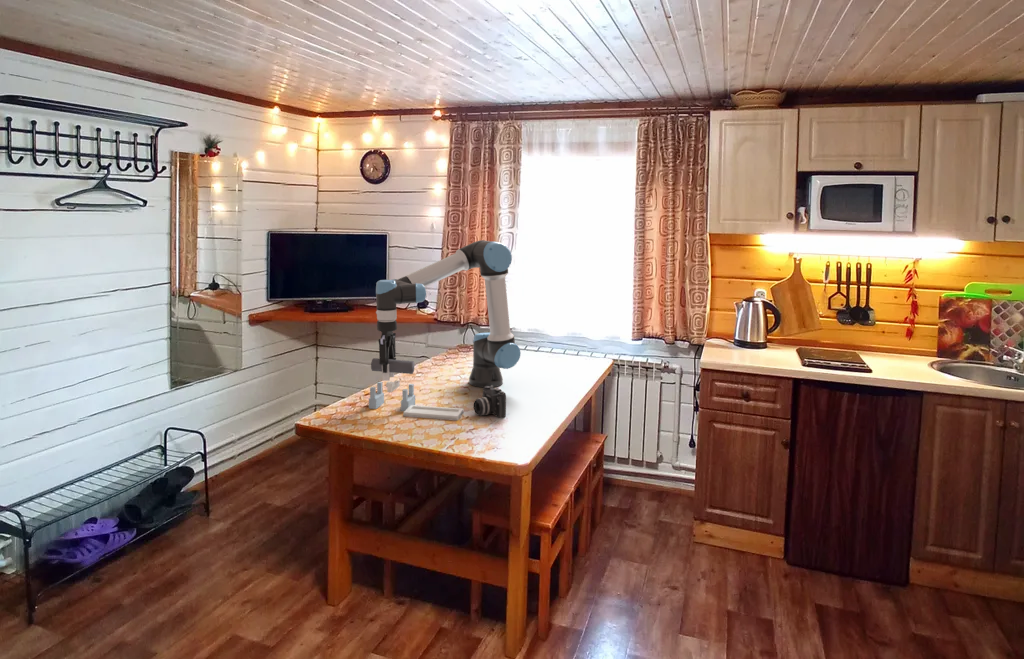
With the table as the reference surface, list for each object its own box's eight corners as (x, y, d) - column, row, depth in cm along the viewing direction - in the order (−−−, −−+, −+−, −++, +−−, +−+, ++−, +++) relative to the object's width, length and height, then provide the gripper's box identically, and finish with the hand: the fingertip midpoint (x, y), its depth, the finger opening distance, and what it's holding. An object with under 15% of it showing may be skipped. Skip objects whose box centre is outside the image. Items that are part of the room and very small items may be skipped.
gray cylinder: (414, 371, 274) (414, 359, 272) (410, 375, 269) (410, 363, 268) (375, 368, 276) (375, 356, 275) (371, 372, 271) (370, 360, 270)
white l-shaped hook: (400, 385, 270) (400, 376, 269) (392, 392, 260) (392, 383, 259) (394, 385, 270) (394, 376, 270) (386, 392, 261) (386, 383, 260)
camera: (466, 410, 272) (466, 386, 270) (490, 407, 278) (491, 382, 276) (484, 421, 260) (484, 395, 258) (509, 416, 266) (509, 391, 264)
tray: (463, 412, 269) (463, 408, 269) (457, 420, 260) (457, 416, 260) (411, 408, 272) (411, 405, 272) (403, 416, 263) (403, 412, 263)
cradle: (415, 404, 278) (415, 384, 277) (408, 411, 269) (408, 390, 267) (377, 401, 280) (376, 381, 279) (368, 408, 271) (368, 387, 270)
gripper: (385, 315, 278) (386, 372, 282) (369, 324, 260) (371, 384, 265) (403, 316, 277) (404, 373, 281) (388, 324, 259) (390, 385, 264)
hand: (388, 378), depth 273 cm, fingers closed on gray cylinder, 5 cm apart
